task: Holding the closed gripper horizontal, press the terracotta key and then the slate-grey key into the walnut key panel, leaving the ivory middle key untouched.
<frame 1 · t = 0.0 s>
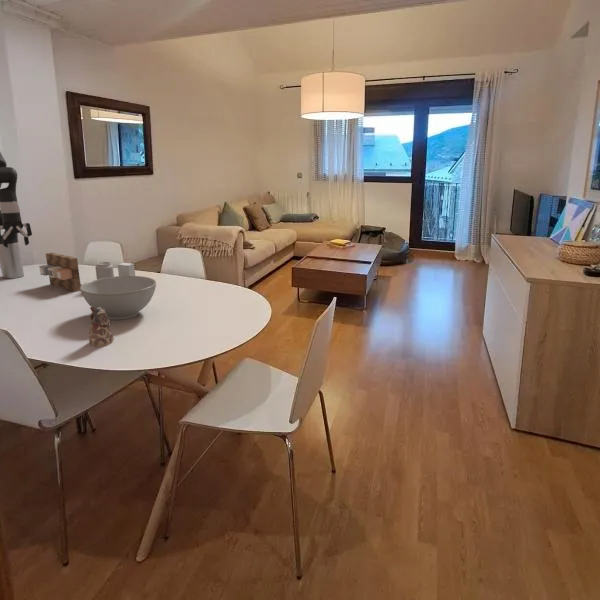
hand: (16, 246, 216), 17 cm above the table, tool pointing down, fingers open, 8 cm apart
can: (106, 288, 210), on the table
decorative bowl: (122, 315, 175), on the table
key slate: (48, 269, 210), point 8 cm above the table, slide at 0.0 cm
figurine: (101, 342, 148), on the table
key ivory: (56, 271, 206), point 8 cm above the table, slide at 0.0 cm
skincare box: (128, 289, 209), on the table
key panel: (62, 287, 210), on the table
key terracotta: (65, 273, 203), point 8 cm above the table, slide at 0.0 cm
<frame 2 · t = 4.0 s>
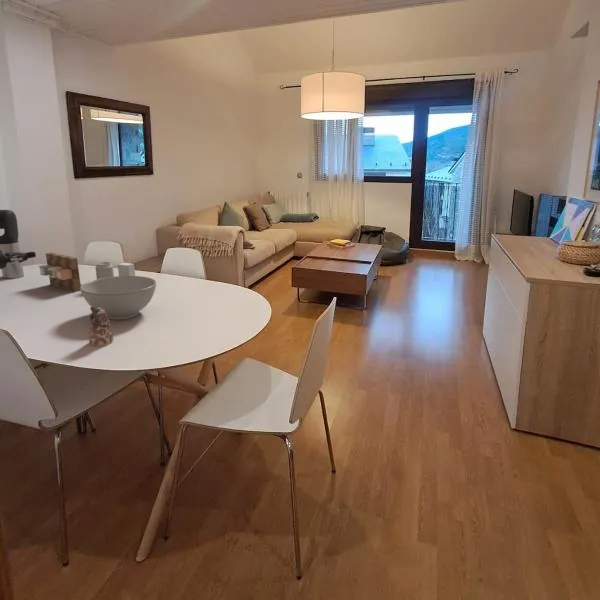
hand: (34, 254, 190), 19 cm above the table, tool horizontal, fingers closed
nothing on the table moved.
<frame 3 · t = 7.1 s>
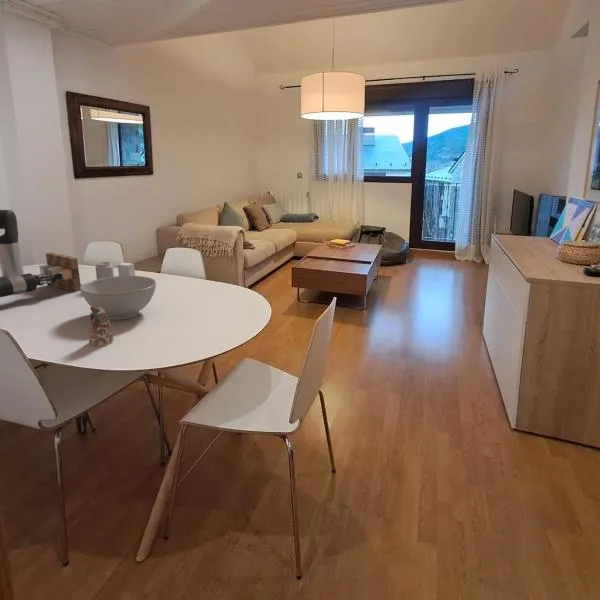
hand: (61, 275, 200), 8 cm above the table, tool horizontal, fingers closed
key terracotta: (67, 273, 203), point 8 cm above the table, slide at 0.8 cm, touching gripper
everything else where it was.
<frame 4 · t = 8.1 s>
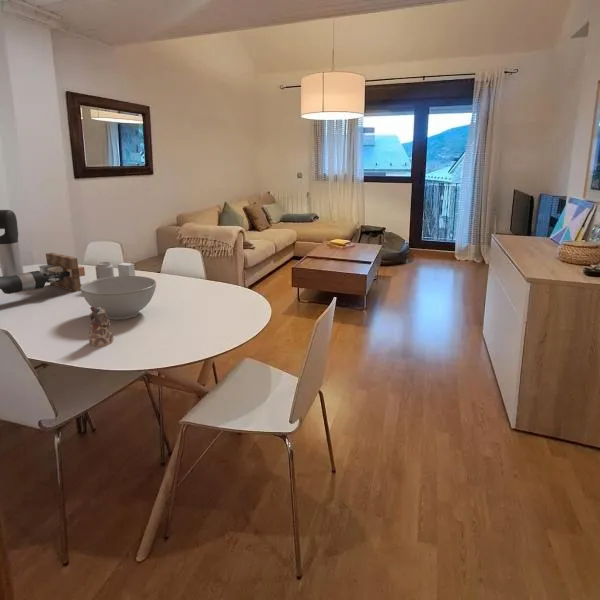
hand: (69, 273, 204), 8 cm above the table, tool horizontal, fingers closed
key terracotta: (75, 271, 206), point 8 cm above the table, slide at 4.7 cm, touching gripper
everything else where it was.
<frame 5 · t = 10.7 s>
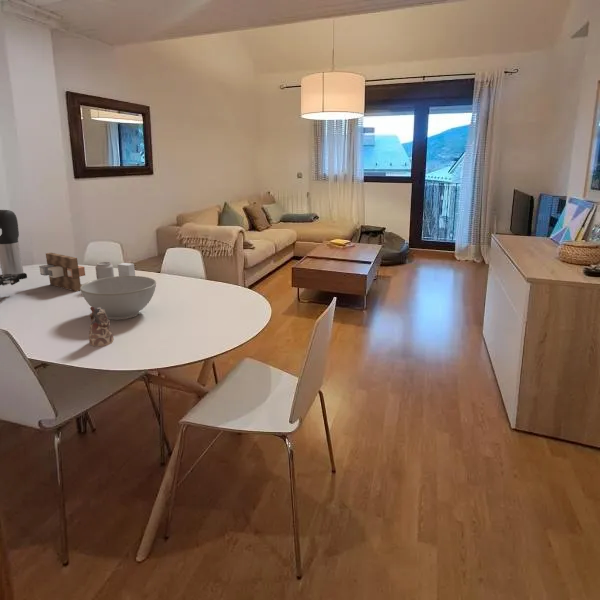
hand: (25, 275, 200), 8 cm above the table, tool horizontal, fingers closed
key terracotta: (75, 271, 206), point 8 cm above the table, slide at 4.8 cm
everything else where it was.
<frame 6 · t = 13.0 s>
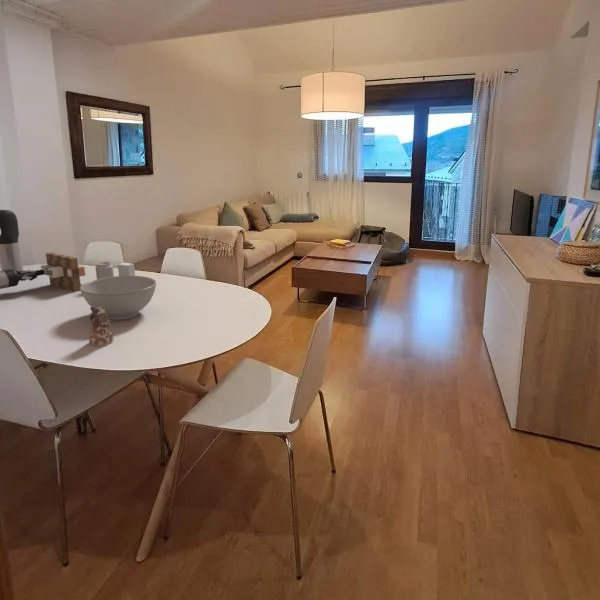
hand: (43, 271, 208), 8 cm above the table, tool horizontal, fingers closed
key slate: (49, 269, 210), point 8 cm above the table, slide at 0.6 cm, touching gripper
everything else where it was.
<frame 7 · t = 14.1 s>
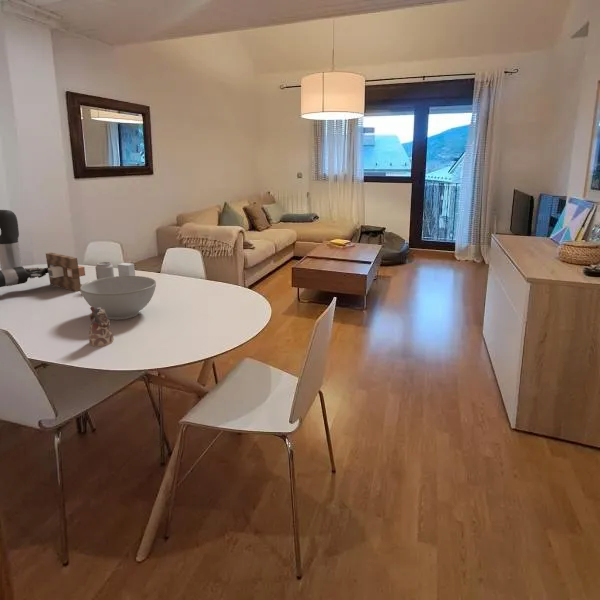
hand: (51, 269, 211), 8 cm above the table, tool horizontal, fingers closed
key slate: (58, 267, 214), point 8 cm above the table, slide at 4.7 cm, touching gripper
everything else where it was.
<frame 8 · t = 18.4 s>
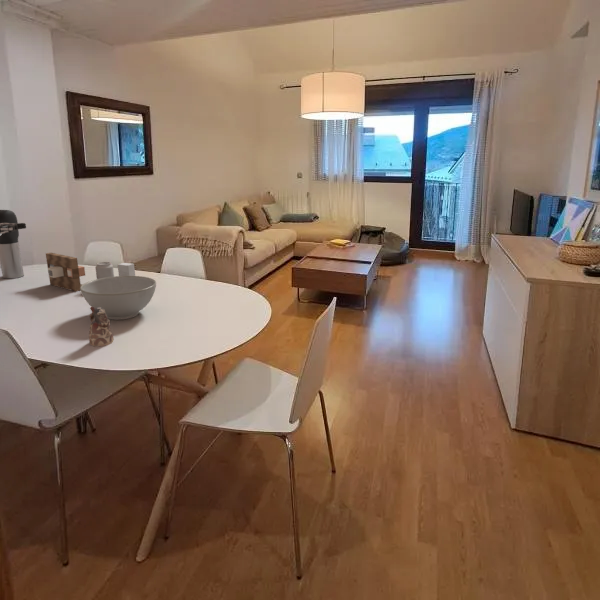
hand: (24, 225, 191), 30 cm above the table, tool horizontal, fingers closed
key slate: (58, 267, 214), point 8 cm above the table, slide at 4.8 cm
everything else where it was.
at the end: key terracotta slide at 4.8 cm; key slate slide at 4.8 cm; key ivory slide at 0.0 cm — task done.
